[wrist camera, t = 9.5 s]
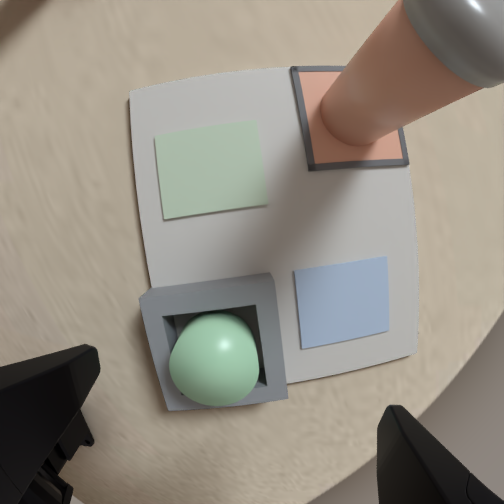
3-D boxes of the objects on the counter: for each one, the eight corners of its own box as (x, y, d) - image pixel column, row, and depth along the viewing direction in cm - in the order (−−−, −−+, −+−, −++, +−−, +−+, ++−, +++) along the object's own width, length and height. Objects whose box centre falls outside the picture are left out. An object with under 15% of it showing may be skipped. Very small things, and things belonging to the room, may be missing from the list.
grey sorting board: (177, 391, 20) (170, 415, 17) (130, 94, 17) (114, 77, 14) (413, 349, 20) (433, 366, 17) (384, 71, 18) (403, 54, 15)
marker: (317, 141, 17) (441, 37, 5) (319, 76, 17) (410, -62, 4) (384, 153, 18) (542, 96, 5) (383, 90, 17) (510, -5, 5)
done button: (187, 381, 18) (180, 408, 15) (172, 314, 17) (160, 333, 14) (260, 373, 18) (264, 400, 15) (250, 304, 17) (252, 323, 14)
